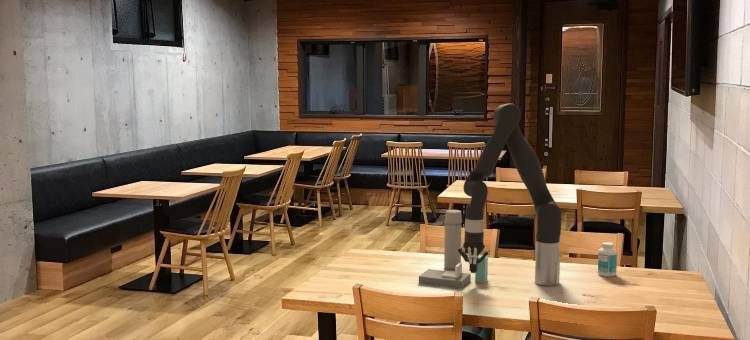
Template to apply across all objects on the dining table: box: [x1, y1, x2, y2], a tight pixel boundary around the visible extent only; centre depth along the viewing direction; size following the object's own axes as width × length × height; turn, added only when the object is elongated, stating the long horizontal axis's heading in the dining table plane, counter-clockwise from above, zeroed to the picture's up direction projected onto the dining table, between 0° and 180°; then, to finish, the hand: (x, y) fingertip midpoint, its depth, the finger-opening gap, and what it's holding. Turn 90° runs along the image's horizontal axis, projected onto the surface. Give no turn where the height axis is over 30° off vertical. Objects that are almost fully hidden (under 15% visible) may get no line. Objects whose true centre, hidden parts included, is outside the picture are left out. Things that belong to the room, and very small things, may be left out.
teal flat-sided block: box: [474, 254, 489, 283], centre depth 302 cm, size 4×4×10 cm
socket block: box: [418, 268, 472, 290], centre depth 300 cm, size 18×12×3 cm, turn 67°
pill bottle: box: [597, 241, 618, 278], centre depth 310 cm, size 8×7×14 cm
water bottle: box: [443, 209, 463, 271], centre depth 321 cm, size 9×8×25 cm
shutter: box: [442, 262, 463, 279], centre depth 299 cm, size 6×7×5 cm
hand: (473, 272), depth 295 cm, fingers closed
